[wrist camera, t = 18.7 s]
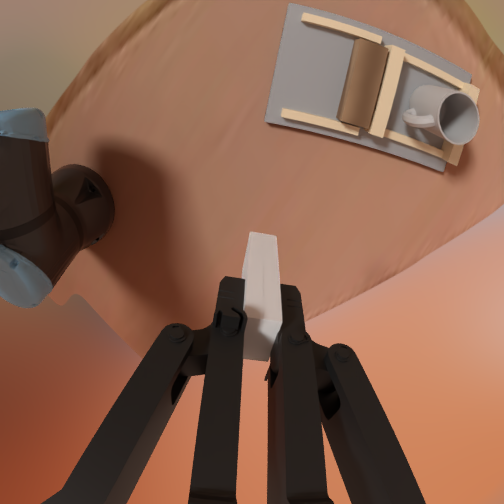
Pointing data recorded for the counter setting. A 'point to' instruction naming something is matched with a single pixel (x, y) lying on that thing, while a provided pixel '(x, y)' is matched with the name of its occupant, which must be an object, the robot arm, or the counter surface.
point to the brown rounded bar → (362, 83)
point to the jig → (333, 78)
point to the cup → (443, 113)
